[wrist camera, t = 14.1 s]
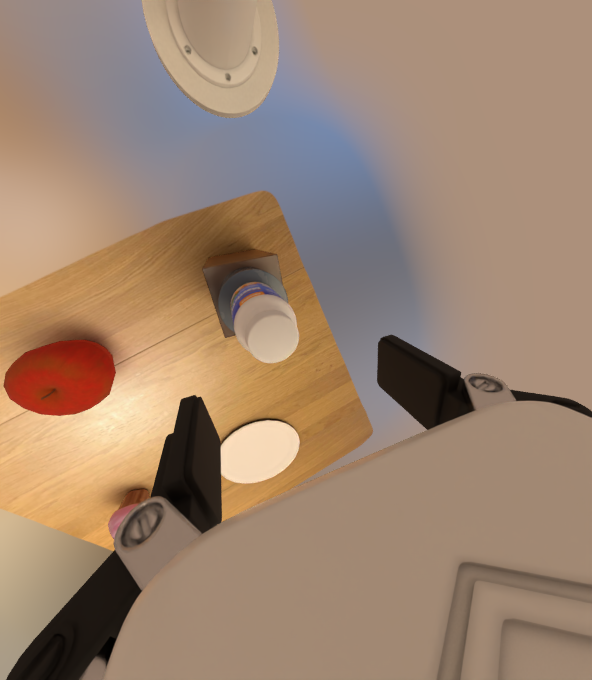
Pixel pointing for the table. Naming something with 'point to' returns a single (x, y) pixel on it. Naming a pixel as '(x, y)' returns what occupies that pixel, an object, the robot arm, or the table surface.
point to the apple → (61, 377)
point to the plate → (258, 451)
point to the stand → (227, 263)
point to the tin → (239, 279)
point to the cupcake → (126, 508)
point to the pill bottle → (264, 322)
